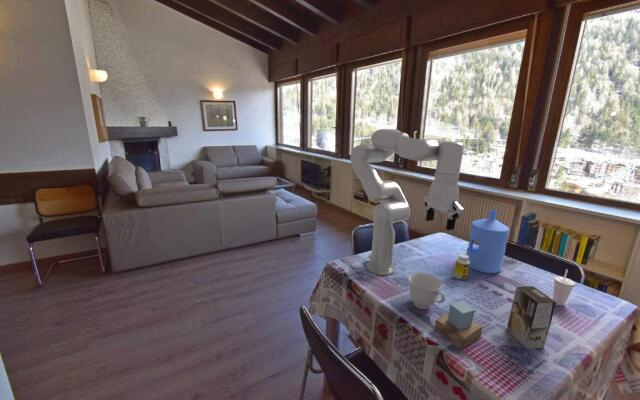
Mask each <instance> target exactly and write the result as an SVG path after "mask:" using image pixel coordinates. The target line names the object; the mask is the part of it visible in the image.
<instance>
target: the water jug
mask: <svg viewBox="0 0 640 400" xmlns="http://www.w3.org/2000/svg"><path fill="white" fill-rule="evenodd" d="M488 211H489V212H488V214H487V215H488V216H487V218H482V219H477V220H476V219H475V220H473V221H472V222H471V225H470V229H469V230H470V231H469V241H468V247H467V248H466V252H465V255H467V256H469V261H470V265H469V269H472V270H474V271H478V272H481V273H485V274H496V273H500V272H501V270H502V266H503V265H502V264H503V261H504V256H505V253H506V247H507V244H508V239H509V235H510V228H509V227H508V226H507V225H505V224H504V223H502V222H500V221H498V220H497V213H498V211H497V210H494V209H489V210H488ZM474 241H476V242H478V243H479V245H474Z"/></svg>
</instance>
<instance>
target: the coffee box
mask: <svg viewBox="0 0 640 400" xmlns="http://www.w3.org/2000/svg"><path fill="white" fill-rule="evenodd" d="M556 303H557V302H555V301H554V300H553V298H551V297H549V296H548V295H546V294H545V293H544V292H542V291H541V290H540V289H538V288H537V287H536V286H530V285H529V286H527V285H524V286H516V287H515V291H514V295H513V300H512V304H511V309H510V313H509V317H508V322H507V326H506V330H507V331H508V332H509V333H510V334H511V335H512V337H514V338H515V339H516V341H518V342H519V344H521V345H522V346H523V347H524V348H525V349H528V350H529V349H544V348H545V345H546V343H547V338H548V335H549V330H550V327H551V324H552V321H553V318H554V317H553V316H554V314H555V309H556V306H557V304H556Z"/></svg>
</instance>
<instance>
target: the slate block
mask: <svg viewBox="0 0 640 400" xmlns="http://www.w3.org/2000/svg"><path fill="white" fill-rule="evenodd" d="M448 313H449V314H448V319H447V320H448V321H449V322H450V323H452V324H453V325H454V326H455V327H457V328H458V329H459V330H462V329H465V328H468V327H471V326H472V321H474V315H475V309H474V308H473V307H471V306H469V305H468V304H467V303H465V302H464V301H462V300H461V301H457V302H454V303H452V302H451V303H450V304H449V310H448Z"/></svg>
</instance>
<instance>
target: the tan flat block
mask: <svg viewBox="0 0 640 400" xmlns="http://www.w3.org/2000/svg"><path fill="white" fill-rule="evenodd" d="M448 314H449V312H447V313H445V314H444V315H442V316H440V317H438V318H436V319H435V324H434V325H435V326H434V330H436V331H437V332H439V333H440V334H442V335H443V336H445V337H446V338H447V339H449V340H450V341H451V342H454V344H457V346H459V347H461V348H463V349H464V348H465V347H468V345H470V344H472V343H473V342H474V341H476V340H477V339H478V338H480V337H481V336H482V331H483V325H481V324H479V323H477V322H475V320H473V321H472V326H471V327H468V328H465V329H462V330H459V329H458V328H457V327H455V326H454V325H453V324H452V323H450V322H449V321H448V320H447V319H448Z"/></svg>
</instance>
